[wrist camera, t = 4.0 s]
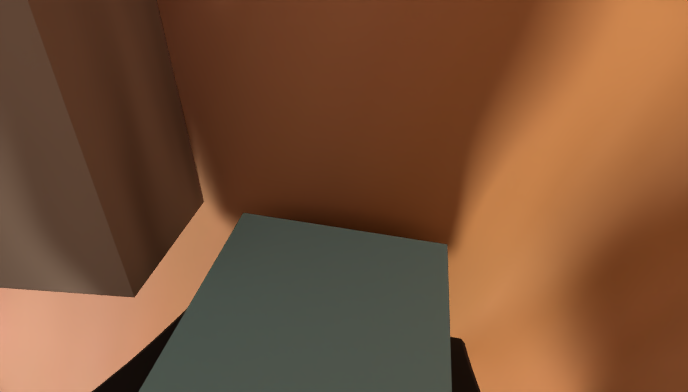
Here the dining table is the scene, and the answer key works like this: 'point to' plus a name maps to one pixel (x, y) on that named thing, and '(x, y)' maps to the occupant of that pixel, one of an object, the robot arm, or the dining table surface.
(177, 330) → the teal block
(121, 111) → the brown block
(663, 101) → the dining table surface
